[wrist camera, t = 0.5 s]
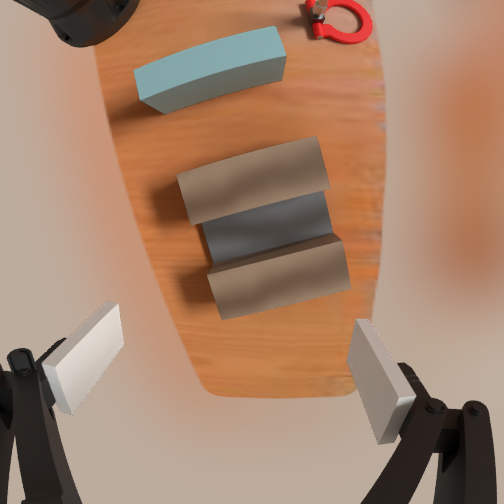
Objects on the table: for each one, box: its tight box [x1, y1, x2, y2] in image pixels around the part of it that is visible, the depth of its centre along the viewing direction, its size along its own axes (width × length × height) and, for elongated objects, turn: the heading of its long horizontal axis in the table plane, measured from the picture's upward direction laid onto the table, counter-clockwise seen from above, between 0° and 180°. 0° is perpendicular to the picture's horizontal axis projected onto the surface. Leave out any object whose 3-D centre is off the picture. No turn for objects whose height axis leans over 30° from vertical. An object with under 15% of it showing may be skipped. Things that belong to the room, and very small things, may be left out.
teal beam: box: [134, 26, 287, 115], centre depth 31 cm, size 16×4×9 cm, turn 105°
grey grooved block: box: [176, 136, 351, 320], centre depth 37 cm, size 18×16×6 cm
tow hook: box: [305, 0, 373, 44], centre depth 26 cm, size 8×13×9 cm
